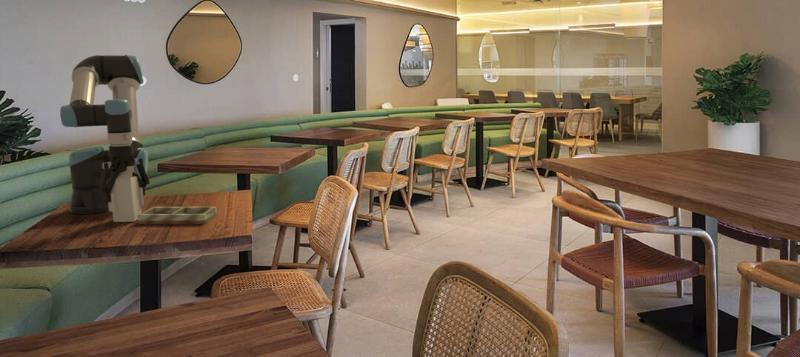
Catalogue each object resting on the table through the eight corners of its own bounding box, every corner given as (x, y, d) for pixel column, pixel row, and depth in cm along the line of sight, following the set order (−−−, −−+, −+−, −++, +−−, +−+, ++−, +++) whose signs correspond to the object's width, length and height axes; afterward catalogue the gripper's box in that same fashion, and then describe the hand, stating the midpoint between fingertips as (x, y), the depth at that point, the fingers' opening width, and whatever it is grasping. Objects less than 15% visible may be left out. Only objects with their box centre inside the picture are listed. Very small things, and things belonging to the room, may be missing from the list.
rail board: (138, 224, 203) (137, 214, 203) (153, 215, 215) (152, 206, 214) (205, 223, 203) (204, 214, 202) (216, 215, 214) (216, 206, 214)
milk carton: (134, 222, 206) (129, 167, 203) (113, 222, 206) (107, 168, 202) (142, 217, 213) (137, 164, 210) (121, 217, 213) (116, 165, 209)
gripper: (93, 149, 193) (100, 216, 198) (157, 142, 211) (162, 203, 215) (82, 147, 198) (89, 213, 202) (145, 140, 216) (150, 200, 220)
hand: (126, 208), depth 209 cm, fingers closed on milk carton, 10 cm apart
